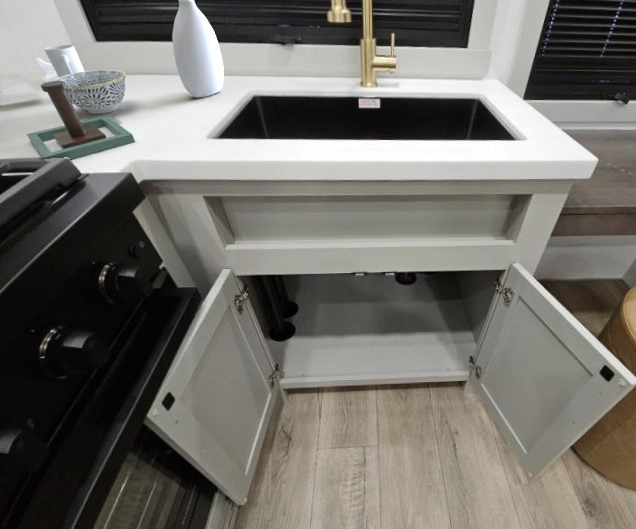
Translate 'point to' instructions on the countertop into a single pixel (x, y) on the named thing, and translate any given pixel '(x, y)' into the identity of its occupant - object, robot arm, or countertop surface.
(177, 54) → the soap bottle
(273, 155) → the countertop surface
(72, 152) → the frame
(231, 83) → the countertop surface
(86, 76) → the bowl
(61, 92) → the peg stand
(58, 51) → the mug
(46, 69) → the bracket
